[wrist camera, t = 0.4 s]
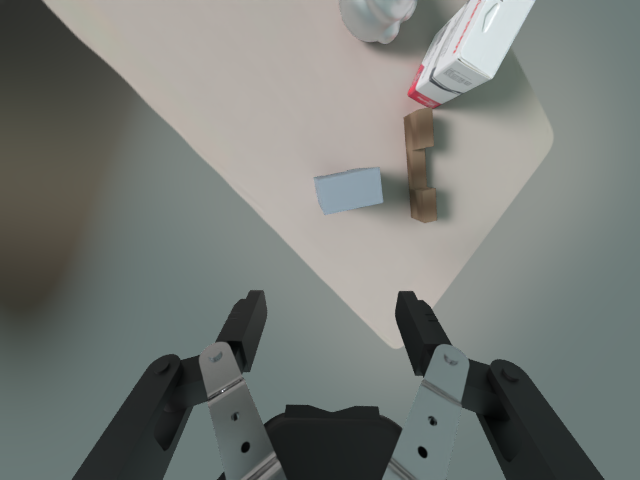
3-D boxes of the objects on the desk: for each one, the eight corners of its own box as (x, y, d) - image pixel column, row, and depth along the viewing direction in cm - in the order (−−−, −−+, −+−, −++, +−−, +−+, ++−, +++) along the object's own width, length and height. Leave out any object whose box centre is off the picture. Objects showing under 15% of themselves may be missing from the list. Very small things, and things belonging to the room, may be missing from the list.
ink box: (432, 110, 35) (494, 81, 24) (405, 95, 34) (455, 58, 23) (462, 50, 33) (546, -13, 22) (434, 32, 32) (505, -43, 21)
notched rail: (403, 117, 35) (417, 109, 30) (416, 114, 35) (432, 106, 30) (411, 217, 40) (424, 222, 35) (422, 215, 40) (437, 220, 35)
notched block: (313, 177, 36) (317, 180, 25) (355, 168, 37) (379, 167, 25) (318, 201, 38) (324, 214, 26) (359, 193, 38) (383, 202, 26)
